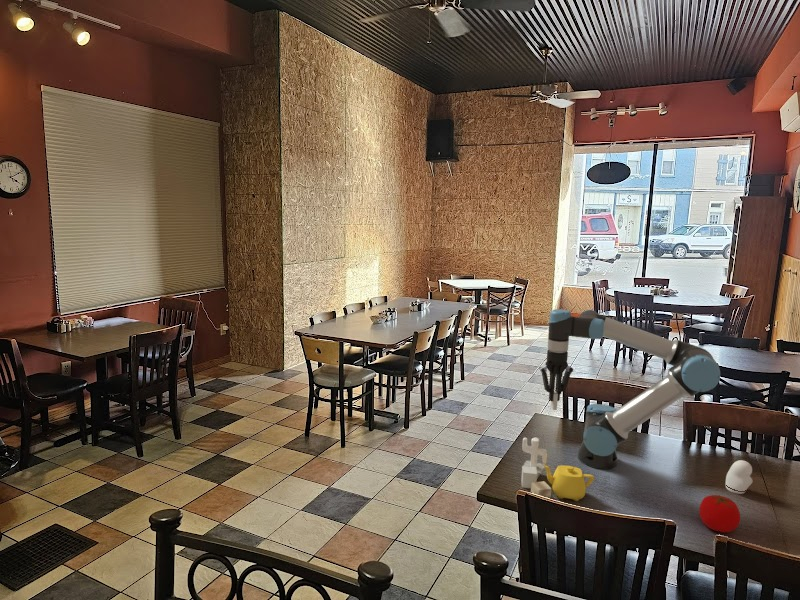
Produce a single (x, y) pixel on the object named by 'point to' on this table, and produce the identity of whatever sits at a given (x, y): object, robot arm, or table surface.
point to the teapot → (568, 482)
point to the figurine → (534, 454)
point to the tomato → (719, 513)
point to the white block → (528, 476)
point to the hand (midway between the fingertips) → (553, 408)
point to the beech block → (541, 489)
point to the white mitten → (739, 476)
